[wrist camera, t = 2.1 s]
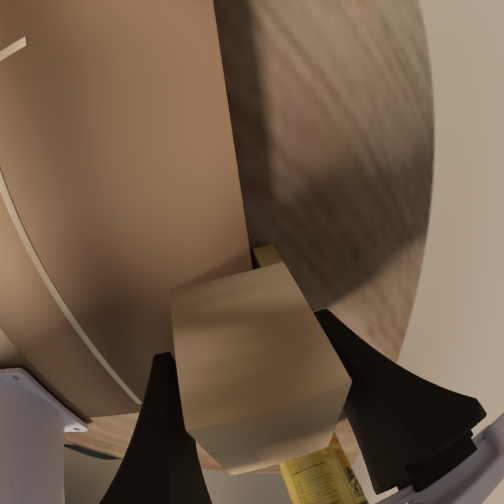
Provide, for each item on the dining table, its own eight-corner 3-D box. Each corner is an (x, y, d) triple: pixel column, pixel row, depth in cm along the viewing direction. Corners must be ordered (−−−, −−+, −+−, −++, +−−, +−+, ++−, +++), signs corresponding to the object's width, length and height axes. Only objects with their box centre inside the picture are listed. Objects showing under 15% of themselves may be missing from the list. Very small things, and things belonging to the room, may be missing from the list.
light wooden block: (205, 360, 14) (232, 475, 9) (168, 269, 11) (185, 429, 6) (280, 340, 15) (327, 446, 10) (272, 243, 11) (352, 381, 6)
